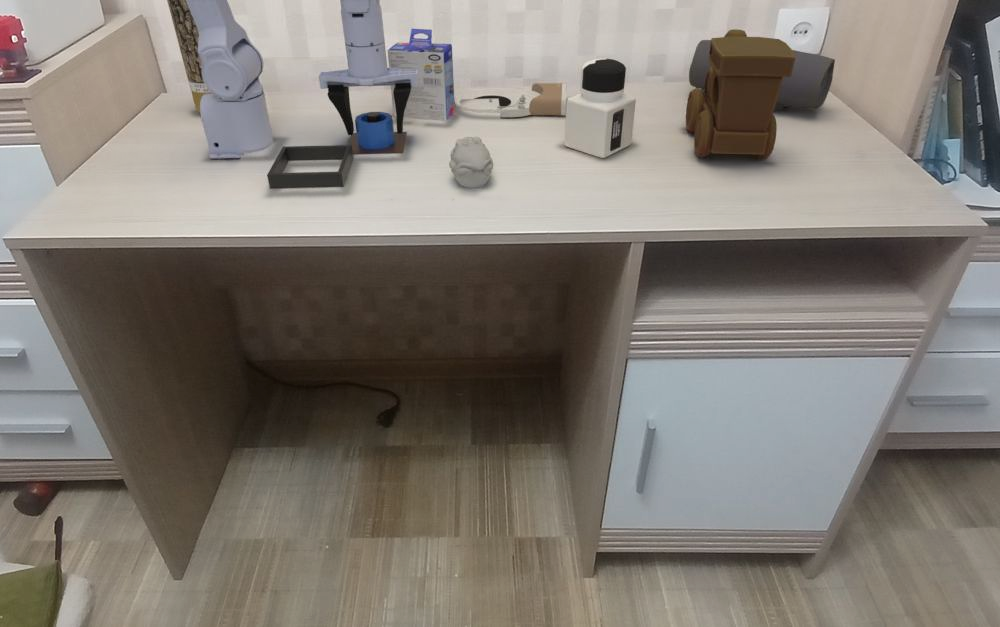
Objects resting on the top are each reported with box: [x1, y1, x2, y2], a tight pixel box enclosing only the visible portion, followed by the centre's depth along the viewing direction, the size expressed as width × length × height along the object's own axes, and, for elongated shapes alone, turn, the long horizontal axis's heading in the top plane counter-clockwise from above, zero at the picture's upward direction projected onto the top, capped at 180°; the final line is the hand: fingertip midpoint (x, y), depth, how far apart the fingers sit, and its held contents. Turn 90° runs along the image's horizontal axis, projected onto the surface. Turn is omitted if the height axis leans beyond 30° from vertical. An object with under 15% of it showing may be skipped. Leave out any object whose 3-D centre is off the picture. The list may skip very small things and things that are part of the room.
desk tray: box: [266, 144, 354, 190], centre depth 102 cm, size 10×10×3 cm
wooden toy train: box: [685, 29, 795, 160], centre depth 106 cm, size 20×11×17 cm, turn 175°
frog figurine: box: [448, 136, 494, 189], centre depth 98 cm, size 6×7×7 cm
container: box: [564, 58, 637, 159], centre depth 108 cm, size 8×8×13 cm
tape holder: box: [347, 111, 408, 156], centre depth 110 cm, size 9×9×6 cm
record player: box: [454, 82, 567, 118], centre depth 126 cm, size 12×3×20 cm
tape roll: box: [354, 111, 395, 149], centre depth 110 cm, size 6×6×4 cm
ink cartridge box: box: [387, 28, 456, 121], centre depth 118 cm, size 10×6×14 cm, turn 78°
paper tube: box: [166, 0, 212, 114], centre depth 120 cm, size 7×7×25 cm
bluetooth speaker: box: [688, 39, 836, 111], centre depth 124 cm, size 23×9×10 cm, turn 55°
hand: (375, 132), depth 110 cm, fingers open, 7 cm apart
